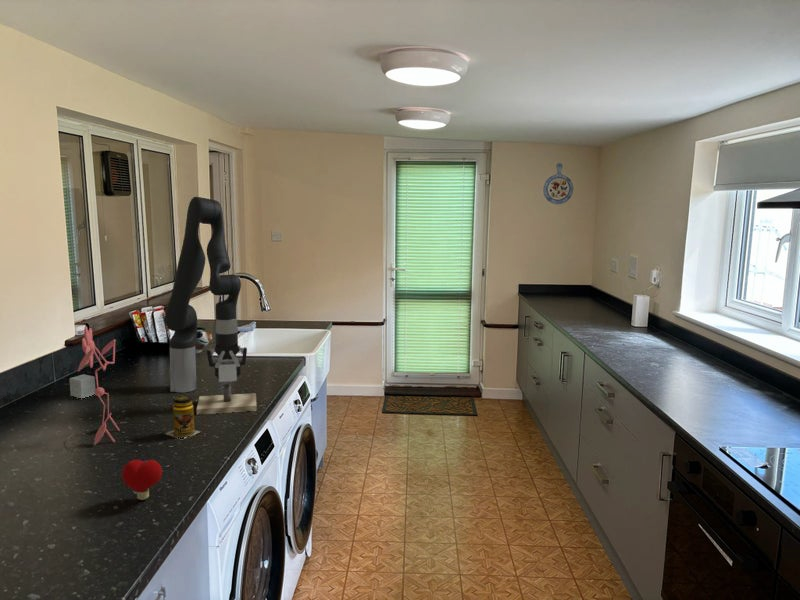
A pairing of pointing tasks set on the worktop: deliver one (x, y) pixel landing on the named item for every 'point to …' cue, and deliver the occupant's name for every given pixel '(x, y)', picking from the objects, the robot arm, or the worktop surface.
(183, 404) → the condiment
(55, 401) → the worktop surface
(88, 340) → the figurine
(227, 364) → the steel collar
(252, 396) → the hub base
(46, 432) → the worktop surface
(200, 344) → the lucky cat figurine
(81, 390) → the product box
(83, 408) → the worktop surface
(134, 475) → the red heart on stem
